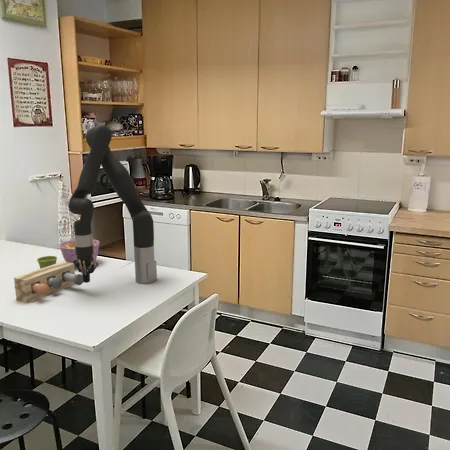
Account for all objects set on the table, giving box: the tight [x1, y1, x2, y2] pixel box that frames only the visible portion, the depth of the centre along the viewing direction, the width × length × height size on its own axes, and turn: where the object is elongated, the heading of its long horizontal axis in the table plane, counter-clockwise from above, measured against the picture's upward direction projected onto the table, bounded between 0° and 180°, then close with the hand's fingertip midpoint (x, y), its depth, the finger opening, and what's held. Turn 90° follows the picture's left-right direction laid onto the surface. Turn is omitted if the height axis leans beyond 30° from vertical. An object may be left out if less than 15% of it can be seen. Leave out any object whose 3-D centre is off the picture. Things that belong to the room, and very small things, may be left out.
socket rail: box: [13, 260, 76, 304], centre depth 204 cm, size 7×26×10 cm, turn 150°
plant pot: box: [36, 255, 58, 269], centre depth 226 cm, size 9×9×9 cm
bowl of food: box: [59, 238, 100, 268], centre depth 241 cm, size 20×20×12 cm
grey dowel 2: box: [62, 272, 85, 286], centre depth 207 cm, size 11×5×5 cm, turn 60°
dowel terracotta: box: [31, 283, 49, 295], centre depth 196 cm, size 11×5×5 cm, turn 60°
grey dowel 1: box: [47, 277, 62, 289], centre depth 203 cm, size 11×5×5 cm, turn 60°
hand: (86, 282), depth 203 cm, fingers closed
